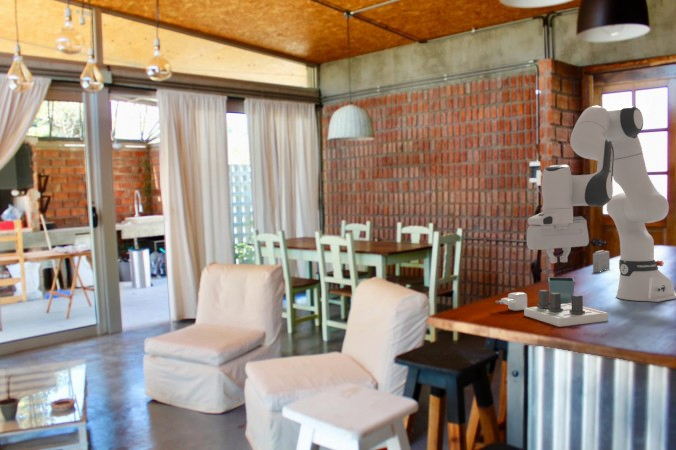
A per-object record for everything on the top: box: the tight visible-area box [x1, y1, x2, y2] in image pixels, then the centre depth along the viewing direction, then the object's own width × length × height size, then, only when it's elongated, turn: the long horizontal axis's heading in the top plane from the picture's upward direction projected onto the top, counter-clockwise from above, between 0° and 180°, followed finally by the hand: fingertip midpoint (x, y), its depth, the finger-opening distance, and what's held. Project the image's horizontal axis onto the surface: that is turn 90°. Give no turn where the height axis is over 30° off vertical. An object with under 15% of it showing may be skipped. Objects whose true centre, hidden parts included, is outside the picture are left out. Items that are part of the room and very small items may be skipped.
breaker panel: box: [523, 302, 609, 327], centre depth 189 cm, size 18×18×3 cm
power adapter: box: [495, 291, 528, 311], centre depth 204 cm, size 11×5×6 cm, turn 111°
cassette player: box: [592, 249, 611, 273], centre depth 288 cm, size 16×3×10 cm, turn 138°
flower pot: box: [547, 276, 576, 304], centre depth 212 cm, size 9×9×9 cm
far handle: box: [536, 289, 550, 309], centre depth 194 cm, size 3×3×6 cm
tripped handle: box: [570, 294, 585, 315], centre depth 183 cm, size 3×3×6 cm
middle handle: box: [548, 292, 563, 312], centre depth 188 cm, size 3×3×6 cm
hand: (558, 262), depth 181 cm, fingers open, 2 cm apart
